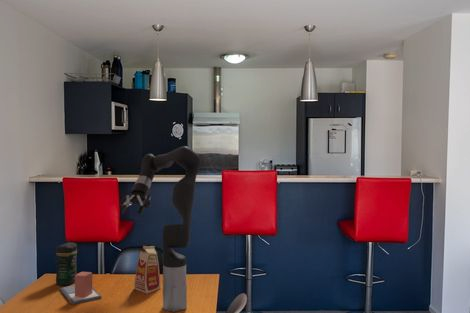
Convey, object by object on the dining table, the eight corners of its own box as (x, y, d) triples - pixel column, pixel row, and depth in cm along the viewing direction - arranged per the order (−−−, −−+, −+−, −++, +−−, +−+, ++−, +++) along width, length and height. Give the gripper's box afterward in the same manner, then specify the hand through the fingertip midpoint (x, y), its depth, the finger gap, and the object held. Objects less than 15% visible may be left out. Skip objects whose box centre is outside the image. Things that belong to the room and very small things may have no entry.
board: (101, 298, 170) (101, 295, 170) (71, 304, 163) (71, 301, 163) (87, 285, 186) (87, 282, 186) (60, 290, 179) (60, 287, 179)
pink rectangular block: (92, 293, 173) (92, 272, 172) (85, 297, 168) (85, 276, 168) (82, 292, 174) (82, 271, 174) (74, 296, 169) (74, 275, 169)
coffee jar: (69, 286, 184) (69, 246, 184) (53, 285, 185) (53, 245, 185) (80, 279, 194) (80, 241, 194) (64, 278, 195) (64, 240, 195)
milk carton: (146, 293, 176) (146, 248, 176) (133, 289, 182) (133, 245, 181) (162, 287, 183) (162, 244, 183) (148, 283, 189) (148, 241, 189)
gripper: (157, 192, 202) (146, 218, 192) (131, 191, 206) (119, 217, 195) (152, 182, 197) (141, 209, 186) (126, 181, 201) (114, 207, 190)
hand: (130, 213), depth 191 cm, fingers open, 8 cm apart
